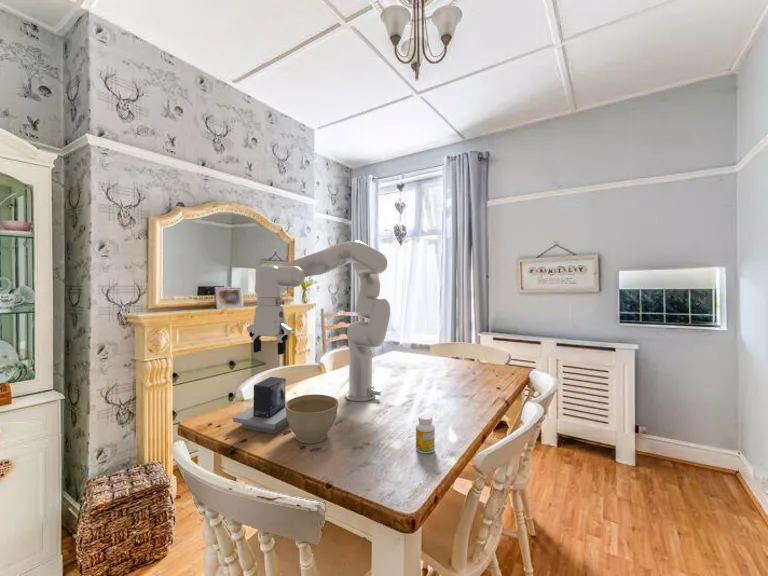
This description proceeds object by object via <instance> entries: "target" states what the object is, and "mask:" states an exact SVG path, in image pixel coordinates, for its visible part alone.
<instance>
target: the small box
mask: <svg viewBox="0 0 768 576" xmlns="http://www.w3.org/2000/svg"><path fill="white" fill-rule="evenodd" d="M285 404H286V378H283V377H275V376H270V377H267V378H265V379H263V380H261V381H259V382H257V383H255V384H253V407H254V408H253V407H252V408H253V416H258V417H265V418H270V417H271V416H273V415H274V414H276V413H277V412H279V411H280V410H281V409H283V408H284V407H285Z"/></svg>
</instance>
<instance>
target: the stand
mask: <svg viewBox="0 0 768 576" xmlns="http://www.w3.org/2000/svg"><path fill="white" fill-rule="evenodd" d="M253 408H254V406H252V407H251V408H249V409H247V410H245V411H243V412H241V413H239V414H237V415H235V416H234V417H233V416H232V420H233V421H232V423H237V424H242V429H248V430H252V431H257V432H264V433H267V434H275V433H276V432H277V431H279V430H281V429H282V428H283V427H285V426H286V425H289V424H288V421H287V416H286V409H285V407H284V408H283V409H281V410H280V411H279V412H277V413H276V414H274V415H273V416H271V417H270V418H265V417H258V416H253Z"/></svg>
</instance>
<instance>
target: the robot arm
mask: <svg viewBox="0 0 768 576" xmlns="http://www.w3.org/2000/svg"><path fill="white" fill-rule="evenodd" d="M346 264H347V265H348V264H352V266H353V269H354V271H355V272H356V274H357V276H358V278H359V280H360V286H359V287H360V288H359V292H358V296H357V301H356V306H355V313H356V316H357V317H360V318H361V319H367V320H368V321H362V320H357V321H354V322H352V323H350V324H349V326H348V327H347V330H346V337H347V342H348V352H349V353H348V354H349V355H348V357H349V359H348V361H349V362H348V366H349V368H348V370H349V371H348V373H349V374H348V375H349V377H348V385H349V386H348V391H347V392H346V393H345V399H346V400H348V401H352V402H368V401H371V400H374V399H375V398H376V396H378V397H379V396H380V397H381V395H382V391H381V389H379V388H375V384H373V353H372V352H373V351H372V348H378V347H380V346H382V345H383V343H384V342H385V339H386V335H387V331H388V326H389V322H390V318H391V317H390V316H391V305H390V302H389V301H388V299H386V298H384V297H382V296H380V291H381V280H380V278H379V276H378V274H382V273H384V272H385V271H386V269H387V267H388V260H387V257H386V256H385V254H384V253H382V252H381V251H379V250H377V249H375V248H373V247H372V246H369V245H368V244H366V243H364V242H362V241H361V240H351V241H342V242H339V243H337V244H334V245H332V246H329V247H327V248H325V249H322V250H319V251H317V252H314V253H311V254H308V255H306V256H303V257H300V258H296V259H293V260H292V261H289V262H286V263H284V264H281V265H279V266H277V265H260V266H259V267H257V269H256V303H257V304H256V306H255V310H254V315H253V323H252V324H251V325H249V326H247V328H246V329H247V332H248V335H249V337H250V338H251V341H252V342H253V343H252V344H253V347H252V348H253V353H259V352H261V351H262V339H261V337H273V338H276V339H277V341H278V342H277V355H279V356H280V355H284V354H285V353H286V342H287V341H288V339H289V338H290V336H291V335H292V332H293V329H292V328H290V327H289V326H288V325H286V315H285V310H284V307H283V306H281V304H283V303H284V299H281V298H282V297H281V288H285V287H286V288H298V287H300V286H301V285H302V284H304V282H305V280H306V279H305V278H306V277H307V278H308V277H312V276H313V277H314V276H321V275H324V274H326V273H329V272H331V271H333V270H336V269H338V268H340V267H342V266H345V265H346Z"/></svg>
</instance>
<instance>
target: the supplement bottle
mask: <svg viewBox="0 0 768 576" xmlns="http://www.w3.org/2000/svg"><path fill="white" fill-rule="evenodd" d="M435 434H436V432H435V424H434V423H433V416H432V415H431V414H427V413H422V414H421V413H420V414H419V415H418V422H417V423H416V424H415V449H416V451H417V452H418V453H421V454H423V453H429V454H432V453H433V452H434V451H435V446H436V444H435V442H436V441H435V439H436V437H435V436H436V435H435ZM431 452H432V453H431Z"/></svg>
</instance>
